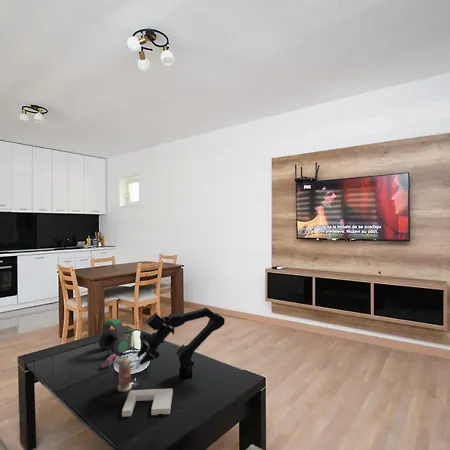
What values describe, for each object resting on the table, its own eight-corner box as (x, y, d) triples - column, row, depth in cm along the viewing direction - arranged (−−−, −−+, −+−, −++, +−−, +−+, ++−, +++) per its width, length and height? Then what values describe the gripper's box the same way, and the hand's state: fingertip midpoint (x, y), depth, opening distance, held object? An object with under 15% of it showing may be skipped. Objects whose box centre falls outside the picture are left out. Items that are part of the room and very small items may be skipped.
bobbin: (133, 384, 163) (132, 357, 162) (130, 391, 156) (129, 363, 156) (119, 384, 162) (119, 357, 162) (116, 392, 155) (116, 363, 155)
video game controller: (106, 371, 179) (111, 361, 178) (99, 367, 180) (104, 357, 179) (115, 363, 189) (120, 353, 188) (109, 359, 189) (113, 349, 188)
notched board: (172, 393, 154) (172, 388, 154) (169, 414, 138) (169, 408, 138) (130, 395, 152) (130, 390, 152) (122, 416, 136) (122, 410, 136)
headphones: (96, 350, 203) (96, 319, 203) (111, 344, 212) (111, 315, 212) (115, 358, 192) (115, 325, 192) (130, 351, 201) (130, 320, 201)
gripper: (146, 320, 171) (124, 344, 167) (152, 332, 154) (129, 358, 150) (160, 332, 175) (140, 356, 171) (168, 345, 158) (146, 372, 154)
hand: (138, 360), depth 161 cm, fingers open, 9 cm apart
